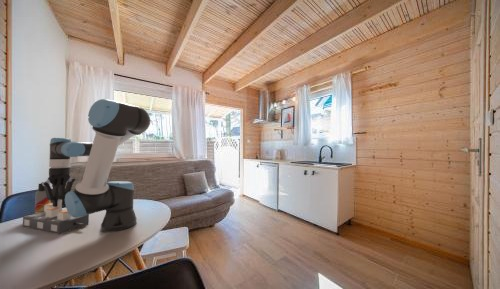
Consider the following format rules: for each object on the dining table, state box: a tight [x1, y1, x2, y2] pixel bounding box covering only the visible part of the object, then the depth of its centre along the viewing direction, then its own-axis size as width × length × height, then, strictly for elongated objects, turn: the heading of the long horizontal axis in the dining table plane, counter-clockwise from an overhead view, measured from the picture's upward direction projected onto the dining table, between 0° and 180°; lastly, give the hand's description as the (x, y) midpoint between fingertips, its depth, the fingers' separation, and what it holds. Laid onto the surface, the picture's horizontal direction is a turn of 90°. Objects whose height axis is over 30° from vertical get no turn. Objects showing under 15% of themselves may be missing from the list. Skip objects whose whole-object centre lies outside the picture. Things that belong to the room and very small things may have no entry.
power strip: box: [22, 210, 90, 235], centre depth 91 cm, size 33×12×6 cm, turn 75°
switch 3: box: [44, 202, 55, 212], centre depth 97 cm, size 4×3×4 cm
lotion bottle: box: [34, 183, 51, 214], centre depth 102 cm, size 6×6×20 cm
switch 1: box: [57, 209, 71, 221], centre depth 87 cm, size 4×3×4 cm
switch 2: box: [46, 207, 59, 218], centre depth 90 cm, size 4×3×4 cm
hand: (57, 212), depth 93 cm, fingers closed
